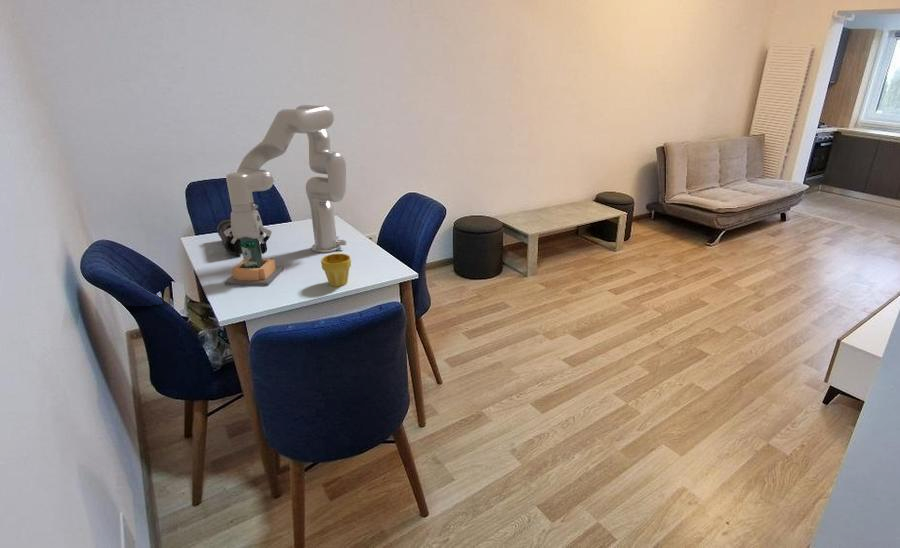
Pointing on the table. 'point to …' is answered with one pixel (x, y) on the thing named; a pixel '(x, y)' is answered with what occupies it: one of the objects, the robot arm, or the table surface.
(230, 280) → the socket block
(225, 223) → the muzzle brake
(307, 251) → the table surface
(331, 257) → the plant pot
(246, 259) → the can
